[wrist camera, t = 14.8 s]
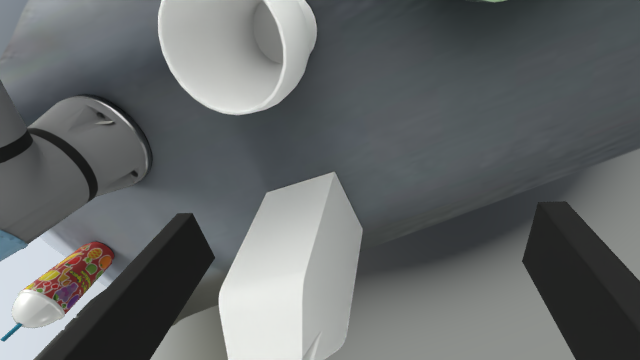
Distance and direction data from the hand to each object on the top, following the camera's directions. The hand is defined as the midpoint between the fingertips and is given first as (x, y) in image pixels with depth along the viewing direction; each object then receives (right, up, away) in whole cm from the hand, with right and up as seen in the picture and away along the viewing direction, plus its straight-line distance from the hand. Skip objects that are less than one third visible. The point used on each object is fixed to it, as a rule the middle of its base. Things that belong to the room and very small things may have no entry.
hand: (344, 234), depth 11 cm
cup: (-5, +19, +21) cm, 29 cm away
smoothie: (-50, -13, +52) cm, 73 cm away
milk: (-2, -3, +34) cm, 34 cm away
